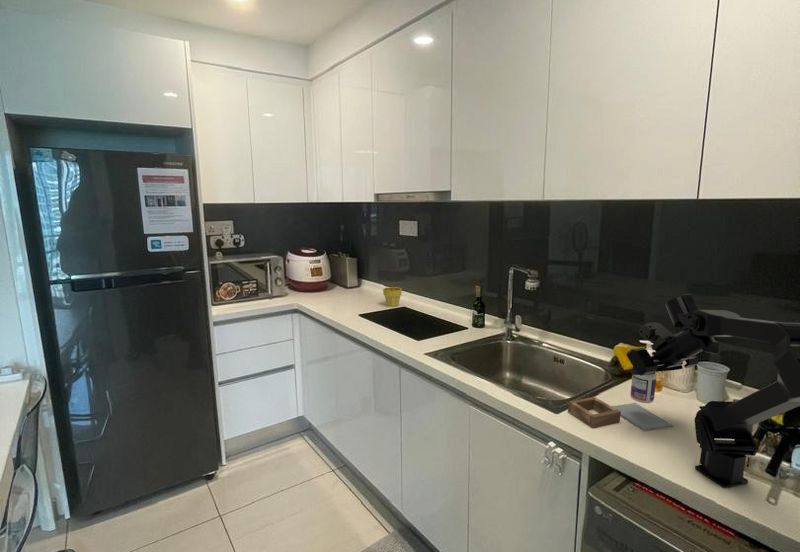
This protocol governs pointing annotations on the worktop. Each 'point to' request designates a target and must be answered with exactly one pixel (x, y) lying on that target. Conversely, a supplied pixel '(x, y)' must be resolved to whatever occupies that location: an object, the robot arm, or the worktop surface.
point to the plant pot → (392, 296)
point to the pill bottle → (643, 388)
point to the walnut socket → (581, 408)
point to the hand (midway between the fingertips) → (639, 371)
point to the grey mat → (641, 417)
